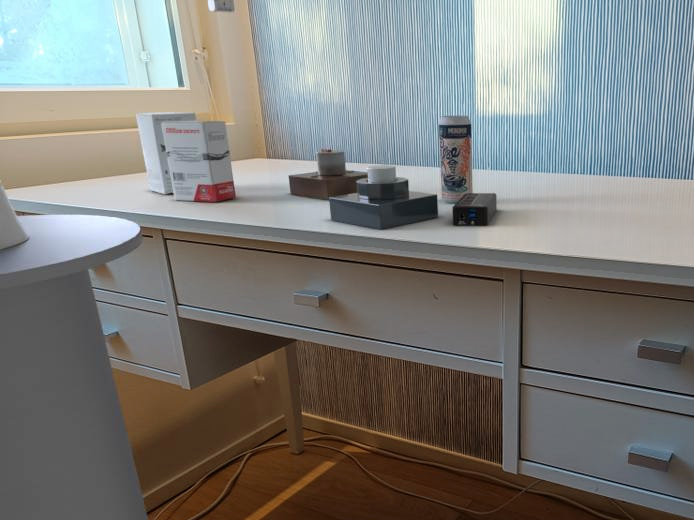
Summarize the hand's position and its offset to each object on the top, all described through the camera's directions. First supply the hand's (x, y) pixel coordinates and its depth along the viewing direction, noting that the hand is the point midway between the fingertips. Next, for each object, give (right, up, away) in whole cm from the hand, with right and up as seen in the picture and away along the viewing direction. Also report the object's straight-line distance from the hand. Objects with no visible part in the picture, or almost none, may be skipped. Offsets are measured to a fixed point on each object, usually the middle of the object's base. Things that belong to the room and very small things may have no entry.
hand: (222, 11), depth 95 cm
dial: (+12, -18, +16) cm, 27 cm away
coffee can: (+32, -24, +8) cm, 41 cm away
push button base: (+23, -29, -4) cm, 38 cm away
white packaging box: (-16, -19, +23) cm, 34 cm away
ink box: (-8, -23, +14) cm, 28 cm away
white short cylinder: (+23, -25, -6) cm, 35 cm away
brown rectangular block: (+12, -21, +18) cm, 30 cm away
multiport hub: (+35, -29, -4) cm, 46 cm away
